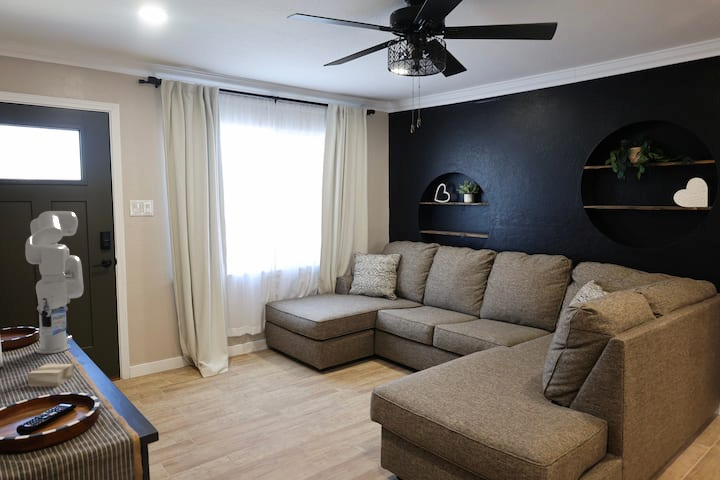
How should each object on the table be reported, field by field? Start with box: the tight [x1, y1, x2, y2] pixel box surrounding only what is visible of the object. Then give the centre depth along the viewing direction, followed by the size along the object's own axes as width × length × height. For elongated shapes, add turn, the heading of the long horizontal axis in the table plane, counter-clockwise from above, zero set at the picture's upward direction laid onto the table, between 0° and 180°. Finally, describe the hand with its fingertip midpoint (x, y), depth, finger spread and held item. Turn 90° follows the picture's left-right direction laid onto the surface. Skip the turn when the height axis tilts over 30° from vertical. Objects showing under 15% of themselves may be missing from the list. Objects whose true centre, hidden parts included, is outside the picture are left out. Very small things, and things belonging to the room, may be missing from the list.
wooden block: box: [27, 363, 75, 387], centre depth 171 cm, size 10×10×5 cm
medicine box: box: [41, 308, 67, 336], centre depth 182 cm, size 8×4×9 cm, turn 175°
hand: (55, 323), depth 182 cm, fingers closed on medicine box, 8 cm apart
